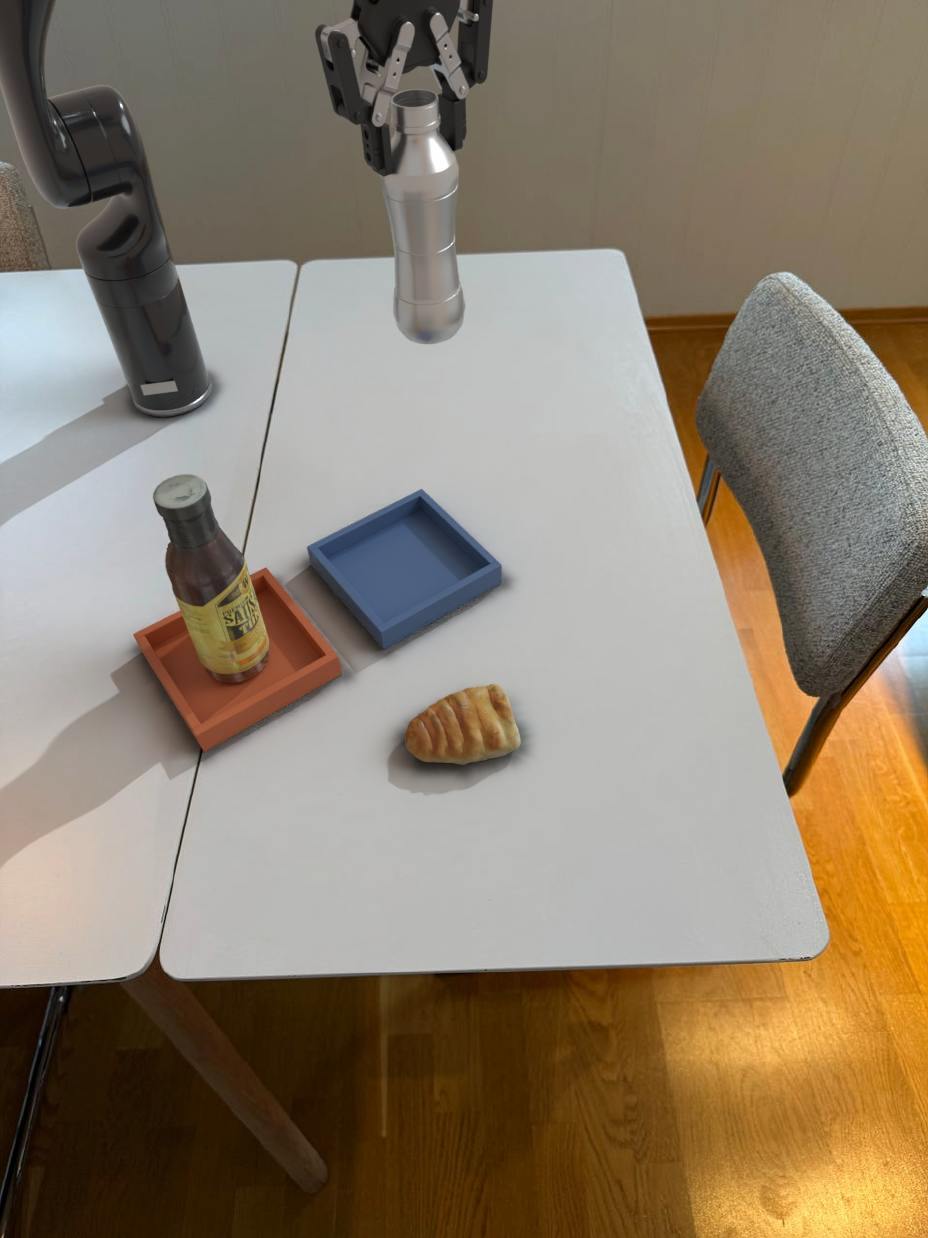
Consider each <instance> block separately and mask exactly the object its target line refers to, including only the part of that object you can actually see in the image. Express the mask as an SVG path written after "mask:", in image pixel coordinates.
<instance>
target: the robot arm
mask: <svg viewBox="0 0 928 1238" xmlns="http://www.w3.org/2000/svg"><path fill="white" fill-rule="evenodd" d="M56 3H57V0H0V90H1V93H2V97H3V100H4V103H5V107H6V110H7V113H8V116H9V121H10V123H11V126H12V130H13V133H14V137H15V139H16V142H17V145H18V148H19V151H20V154H21V157H22V159H23V162H24V165H25V167H26V169H27V173H28V174H29V176H30V178H31V180H32V183H33V185H34V186H35V189H36V190H37V191H38V193H39V195H40V196H41V197H42V198H43V199H44V200H45V202H47V203H48V204H49V205H50V206H52V207H53V208H55V209H58V210H70V209H74V208H79V207H83V206H87V205H90V204H92V203H95V202H96V203H97V202H99V201H102V200H106V199H109V198H110V200H109V201H108V203H107V204H106V206H105V207H104V208H103V209H102V211H101V212H100V213H99V214H97V215H96V217H94V218H93V219H92V220H90V221H89V223H87V224H86V225H85V226H84V227H82V229H81V230H80V232H79V233H78V234H77V237H76V240H75V249H76V253H77V254H76V255H77V258H78V259H79V262H80V264H81V267H82V269H83V272H84V275H85V278H86V280H87V283H88V285H89V288H90V290H91V293H92V295H93V298H94V301H95V303H96V306H97V309H98V310H99V311H98V312H99V313H100V316H101V319H102V321H103V324H104V326H105V330H106V331H107V334H108V336H109V339H110V342H111V345H112V347H113V349H114V352H115V355H116V357H117V360H118V362H119V365H120V368H121V370H122V373H123V375H124V378H125V381H126V384H127V386H128V389H129V392H130V395H131V399H132V402H133V404H134V407H135V408H136V409H137V410H138V411H139V412H141V413H144V414H145V415H149V416H152V417H175V416H178V415H182V414H186V413H188V412H191V411H193V410H195V409H196V408H199V407H200V406H201V405H203V404H204V403H205V401H207V399H208V398H209V397H210V396H211V394H212V391H213V384H212V380H211V377H210V374H209V373H208V370H207V367H206V363H205V360H204V356H203V352H202V350H201V345H200V343H199V339H198V336H197V333H196V330H195V326H194V323H193V320H192V317H191V313H190V310H189V306H188V303H187V300H186V296H185V293H184V290H183V287H182V284H181V283H182V282H181V280H180V276H179V274H178V270H177V267H176V264H175V261H174V257H173V254H172V250H171V247H170V244H169V241H168V238H167V237H168V236H167V232H166V226H165V222H164V220H163V217H162V212H161V210H160V206H159V202H158V198H157V194H156V190H155V186H154V182H153V178H152V173H151V170H150V165H149V160H148V157H147V153H146V148H145V144H144V142H143V138H142V135H141V132H140V130H139V126H138V123H137V120H136V117H135V116H134V113H133V111H132V110H131V108H130V106H129V104H128V102H127V101H126V100H125V98H124V96H123V95H122V94H121V93H120V92H119V91H118V90H117V89H116V88H114V86H111V85H108V84H96V85H93V86H92V85H91V86H87V87H83V88H80V89H77V90H72V91H68V92H65V93H60V94H56V95H53V96H50V97H49V96H48V94H47V85H46V70H45V62H46V61H45V58H46V47H47V39H48V38H47V37H48V35H49V34H48V33H49V29H50V25H51V22H52V21H51V20H52V17H53V14H54V10H55V6H56ZM493 6H494V0H352V6H351V11H350V14H349V18H347V19H346V20H343V21H341V22H339V23H337V24H335V25H333V26H329V25H326V24H323V23H322V24H319V25H318V26H317V27H316V29H315V31H314V38H315V42H316V45H317V50H318V54H319V58H320V61H321V66H322V69H323V73H324V78H325V81H326V85H327V90H328V93H329V97H330V101H331V106H332V109H333V112H334V113H335V115H337V116H339V117H342V118H343V119H346V120H347V121H349V122H350V123H352V124H353V125H356V126H358V125H359V126H360V132H361V139H362V141H361V142H362V145H363V146H362V149H363V158H364V161H365V163H366V164H367V166H369V168H371V170H372V171H374V172H375V173H376V174H378V175H379V174H380V175H382V176H383V177H385V176H388V175H390V174H392V173H393V162H392V151H391V132H390V131H391V130H390V125H389V124H388V123H386V121H387V117H388V113H389V109H390V106H391V98H392V97H393V96H394V95H395V94H397V93H398V90H399V88H400V83H401V80H402V75H405V74H408V73H410V72H411V71H413V70H415V69H416V68H418V67H422V68H423V67H424V68H425V67H426V68H427V67H428V68H429V70H430V72H431V74H432V76H433V79H434V80H435V82H436V85H437V87H438V88H439V90H440V91H441V93H438V94H437V93H436V94H437V95H438V100H439V114H440V116H441V123H440V125H439V126H438V131H439V132H440V133H441V135H442V136H443V137H444V139H445V140H446V141H447V143H448V144H449V146H450V147H451V149H452V151H453V152H456V151H459V150H461V149H463V146H464V141H465V140H466V136H467V132H468V131H467V130H468V129H467V103H466V102H467V100H466V98H467V97H468V95H469V92H470V89H472V88H473V87H474V86H475V85H476V84H478V85H482V84H483V83H485V81H486V80H487V78H488V71H489V58H490V45H491V32H492V19H493V18H492V17H493V8H494V7H493ZM456 18H457V20H458V27H457V29H458V30H457V48H456V47H455V44H454V41H453V39H452V38H451V34H450V32H451V31H452V27H453V25H454V23H455V21H456ZM358 40H359V41H360V43H362V45H363V46H364V48H363V49H364V50H363V54H362V58H361V63H360V66H359V71H358V76H357V73H356V69H355V64H354V60H353V59H356V57H357V55H358V53H357V52H358V51H357V50H356V49H357V48H356V44H357V41H358ZM380 67H381V68H383V72H382V74H381V73H380ZM358 77H359V80H360V84H359V82H358Z"/></svg>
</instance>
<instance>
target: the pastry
mask: <svg viewBox="0 0 928 1238" xmlns="http://www.w3.org/2000/svg"><path fill="white" fill-rule="evenodd" d="M404 743H405V747H406V750H408V752H409V753H410V754H411V755H412V756H414V757H415V758H416V759H418V760H419V761H422V762H424V763H437V764H442V763H445V764H455V765H459V766H460V765H462V766H463V765H464V766H465V765H467V764H471V763H477V762H483V761H487V760H490V759H496V758H502V757H505V756H507V755H508V754H510V753H513V752H514V751H516V750H518V749H519V748H520V746H521V744H522V740H521V735H520V731H519V728H518V726H517V723H516V720H515V716H514V712H513V710H512V706H511V703H510V700H509V697H508V695H507V693H506V692H505V690H504V688H502V687H501V685H499V684H495V683H490V684H489V685H483V686H471V687H467V688H464V689H463V690H460V691H456V692H453V693H450V694H448V695H447V696H444V697H442V698H440V699H438V700H437V701H436V702H435V703H433V704H431V705H429V706H428V707H427V708H426V709H424V711H422V712H420V713H418V714H417V715H416V716H415V717H413V718H412V719H411V720H410V721H409V723H408V726H407V727H406V730H405V734H404Z"/></svg>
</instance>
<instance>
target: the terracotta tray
mask: <svg viewBox="0 0 928 1238" xmlns="http://www.w3.org/2000/svg"><path fill="white" fill-rule="evenodd" d="M249 575H250V578H251V582H252V585H253V588H254V591H255V595H256V598H257V601H258V604H259V608H260V611H261V614H262V618H263V621H264V624H265V628H266V631H267V634H268V638H269V661H268V662H267V664H266V666H265V668H263V669H262V671H261V672H260V673H259V674H257V675H256V676H254V677H253V678H251V679H249V680H247V681H245V682H242V683H236V684H233V683H231V684H228V683H222V682H219V681H217V680H215V679H213V678H212V677H211V676H209V674H208V673H207V672H206V669H205V666H204V665H203V664H202V663H201V661H200V659H199V657H198V654H197V651H196V649H195V646H194V644H193V641H192V639H191V636H190V634H189V631H188V628H187V626H186V623H185V621H184V618H183V616H182V613H181V611H180V610H178V611H176V612H174V613H172V614H170V615H168V616H166V617H164V618H162V619H160V620H158V621H156V622H154V623H152V624H150V625H149V626H148V625H147V626H146V627H144V628H142V629H140V630H138V631H136V632H134V633H133V634H132V635H133V637H134V640H135V642H136V644H137V645H138V647H139V650H140V651H141V653H142V655H143V656H144V658H145V659H146V661H147V663H148V664H149V666H150V668H151V669H152V670H153V672H154V674H155V676H156V677H157V679H158V681H159V682H160V683H161V686H162V687H163V689H164V690H165V692H166V693H167V694H168V697H169V698H170V700H171V702H172V703H173V705H174V706H175V708H176V710H177V712H178V713H179V714H180V716H181V717H182V719H183V721H184V722H185V723H186V724H185V725H186V726H187V728H188V729H189V730H190V732H191V733H192V735H193V737H194V738H195V740H196V742H197V743H198V745H199V746H200V748H201V750H202V751H203V752H204V753H205V752H208V751H209V750H211V749H213V748H214V747H216V746H218V745H220V744H222V743H223V742H225V741H226V740H229V739H230V738H232V737H235V735H237V734H239V733H241V732H242V731H244V730H246V729H248V728H250V727H251V726H253V725H255V724H256V723H258V722H260V721H262V720H264V719H265V718H267V717H269V716H271V715H272V714H274V713H275V712H278V711H279V710H281V709H283V708H284V707H285V708H286V706H288V705H290V704H292V703H293V702H295V701H297V700H299V699H301V698H302V697H304V696H305V695H307V694H309V693H311V692H312V691H315V690H316V689H318V688H320V687H321V686H323V685H325V684H327V683H328V682H330V681H332V680H334V679H336V678H337V677H339V676H340V675H342V674H343V672H342V666H341V662H340V658H339V656H338V654H337V652H335V651H334V649H333V648H332V647H331V645H330V644H329V643H328V642H327V640H326V639H325V638H324V637H323V635H322V634H321V632H319V631H318V630H317V627H315V626H314V624H313V623H312V622H311V621H310V619H309V618H308V617H307V616H306V614H305V613H304V612H303V610H301V608H300V607H299V605H298V604H296V603H297V602H295V601H294V600H293V598H292V597H291V596H290V595H289V593H288V592H287V591H286V590H285V588H284V587H283V586H282V585H281V583H280V582H279V581H278V580H277V578H276V576H274V575H273V573H272V572H271V571H270V570H269V568H268V567H266V566H265V567H263V568H262V569H259V570H258V571H255V572H253V573H251V574H249Z"/></svg>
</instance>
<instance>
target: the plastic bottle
mask: <svg viewBox="0 0 928 1238" xmlns="http://www.w3.org/2000/svg"><path fill="white" fill-rule="evenodd" d="M390 112H391V116H390V126H391V129H392V130H393V131H394V134H393V136H392V137H391V138H390V140H391V151H392V162H393V173H392V174H390V175H388V176H385V177H383V176H382V175H380V174H378V176H379V183H380V188H381V192H382V196H383V200H384V204H385V208H386V212H387V216H388V220H389V227H390V233H391V239H392V245H393V251H394V288H393V297H392V313H393V314H392V315H393V318H394V321H395V324H396V327H397V329H398V331H399V332H400V333H401V334H402V335H403V337H405V339H407V340H408V341H410V342H413V343H415V344H420V345H435V344H440V343H444V342H446V341H448V340H450V339H452V338H453V337H454V336H456V335H457V333H459V331H460V329H461V327H462V325H463V324H464V318H465V311H466V301H465V295H464V291H463V286H462V283H461V280H460V272H459V265H458V257H457V249H456V211H457V201H458V191H459V180H460V165H459V164H458V160H457V157H456V154H455V151H452V149H451V147H450V146H449V144H448V143H447V141H446V140H445V139H444V137H443V136H442V135H441V133H440V132H439V125H440V123H441V116H440V114H439V100H438V95H437V92H435V91H433V90H430V89H424V88H413V89H412V88H410V89H406V90H401V91H399V92H396V93H395V94H393V95H392V98H391V102H390Z"/></svg>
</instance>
